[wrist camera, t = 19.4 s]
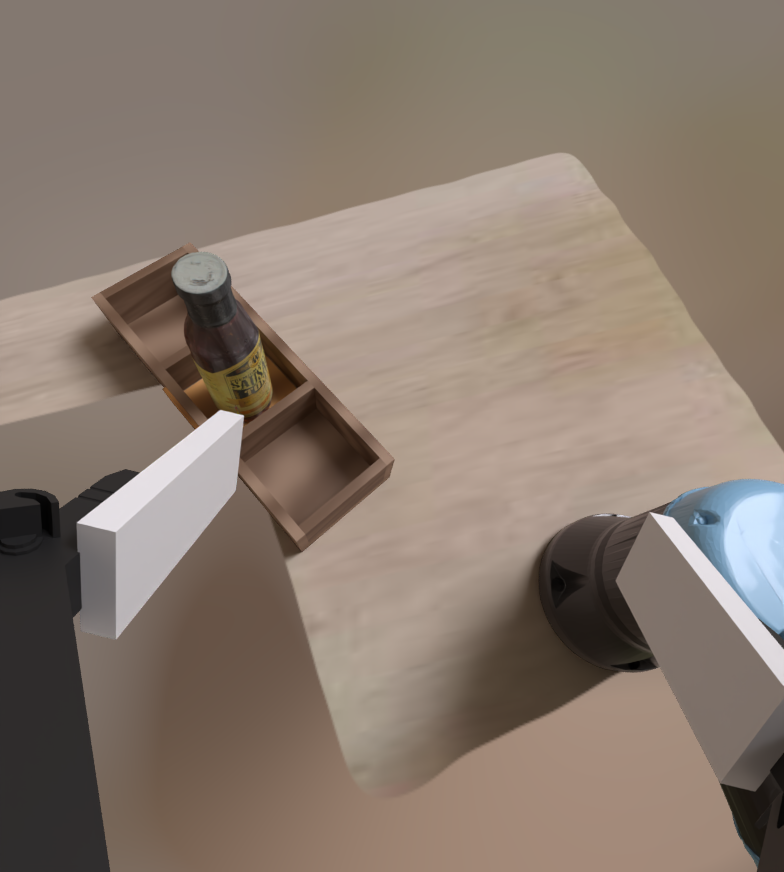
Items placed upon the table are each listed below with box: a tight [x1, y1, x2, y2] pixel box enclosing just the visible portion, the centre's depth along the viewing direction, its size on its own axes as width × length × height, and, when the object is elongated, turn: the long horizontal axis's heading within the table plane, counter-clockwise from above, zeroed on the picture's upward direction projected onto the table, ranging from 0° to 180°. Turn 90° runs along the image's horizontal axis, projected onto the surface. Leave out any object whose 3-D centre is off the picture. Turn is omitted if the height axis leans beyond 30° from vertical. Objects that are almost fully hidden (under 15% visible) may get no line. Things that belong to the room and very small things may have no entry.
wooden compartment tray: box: [91, 243, 394, 552], centre depth 52 cm, size 34×12×6 cm, turn 43°
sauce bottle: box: [171, 252, 272, 423], centre depth 45 cm, size 6×6×20 cm
